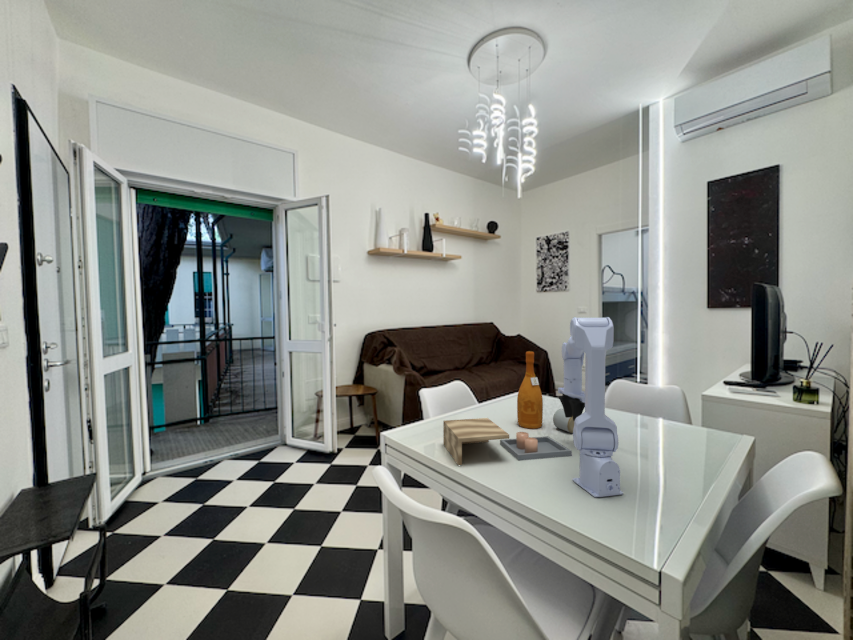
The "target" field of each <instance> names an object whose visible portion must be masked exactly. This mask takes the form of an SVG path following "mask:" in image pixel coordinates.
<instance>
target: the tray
mask: <svg viewBox="0 0 853 640" xmlns="http://www.w3.org/2000/svg"><path fill="white" fill-rule="evenodd" d="M531 438H536V439H537V440H538V452H534V453H525V449H518V448H517V444H516V438H509V439H499V445H500V446H501V447H502V448H504V449H505V450H506V451H507V452H508V453H510V455H512V457H514V458H515V459H516V460H517V461H529V460H530V461H531V460H539V459H540V460H541V459H551V458H554V459H555V458H562V457H573V456H572V455H573V454H572V453H573V451H572V450H571V449H570V448H568V447H567V446H565V445H564V444H561V443H560V442H559V441H557V440H555V439H553V438H551V437H550V436H549V435H548V436H545V435H544V436H543V435H542V436H531Z"/></svg>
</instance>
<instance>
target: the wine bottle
mask: <svg viewBox="0 0 853 640" xmlns="http://www.w3.org/2000/svg"><path fill="white" fill-rule="evenodd" d="M525 363H526V364H525V367H526V368H525V375H524V377H523V380H522V382H521V384H520V386H519V389H518V391H517V392H518V393H517V400H516V401H517V403H516V409H517V410H516V411H517V413H516V414H517V418H516V419H517V424H518V425H519V427H521V428H525V429H530V430H533V429H535V430H536V429H539V428H541V427H543V419H544V418H543V416H544V415H543V414H544V413H543V410H544V404H543V403H544V401H543V394H542V390H541V387H540V383H539V379H538V377H537V376H536V374H535V368H534V363H535V352H534V351H532V350H528V351H526V352H525Z"/></svg>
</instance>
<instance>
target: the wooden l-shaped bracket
mask: <svg viewBox="0 0 853 640" xmlns="http://www.w3.org/2000/svg"><path fill="white" fill-rule="evenodd" d="M442 428H443V431H442V432H443V433H442V434H443V436H442V437H443V446H444V445H445V446H444V447H445V449H446V448H447V449H446V450H447V452H448V451H449V452H450V453H449V452H448V453H449V454H451V455H452V456H451V455H450V456H451V457H452V459H453V458H454V459H455V460H454V459H453V460H454V462H455V461H456V462H457V463H458V465H463V445H465V444H467V445H468V443H469V444H480V443H479V442H482V443H489V442H490V441H493V440H497V441H498V440H503V439H510V434H509V433H508V432H507V431H505V430H504V429H502V427H500V426H499V425H497V424H496V423H495V422H493V421H492V420H491V419H489V417H479V418H467V419H466V418H465V419H464V418H463V419H449V420H443V427H442ZM456 462H455V463H456ZM457 463H456V464H457ZM458 465H457V466H458Z"/></svg>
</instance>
